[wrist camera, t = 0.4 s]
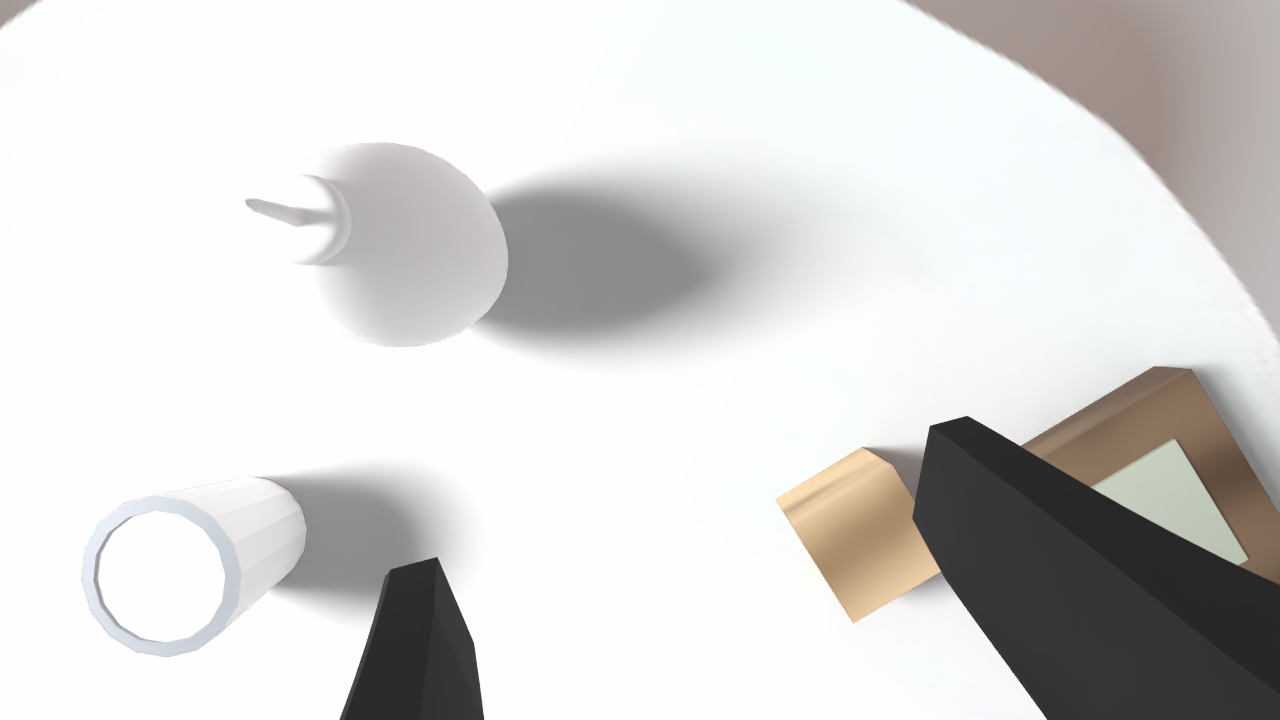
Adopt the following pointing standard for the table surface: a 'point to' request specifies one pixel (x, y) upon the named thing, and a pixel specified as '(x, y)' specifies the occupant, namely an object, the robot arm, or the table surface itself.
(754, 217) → the table surface
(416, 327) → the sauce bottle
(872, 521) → the oak cube
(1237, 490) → the walnut base
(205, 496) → the white cup
